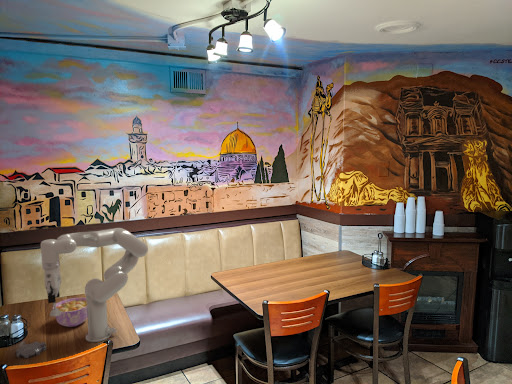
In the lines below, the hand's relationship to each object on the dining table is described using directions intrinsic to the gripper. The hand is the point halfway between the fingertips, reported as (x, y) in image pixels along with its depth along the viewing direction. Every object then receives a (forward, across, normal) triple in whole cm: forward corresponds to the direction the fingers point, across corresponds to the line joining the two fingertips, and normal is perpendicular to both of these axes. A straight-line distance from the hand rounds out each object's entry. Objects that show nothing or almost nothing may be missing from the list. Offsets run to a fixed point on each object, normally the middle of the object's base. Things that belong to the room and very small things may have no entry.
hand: (54, 299), depth 187 cm
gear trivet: (+26, +1, +12) cm, 29 cm away
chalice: (+8, 0, 0) cm, 8 cm away
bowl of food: (+27, +28, 0) cm, 38 cm away
